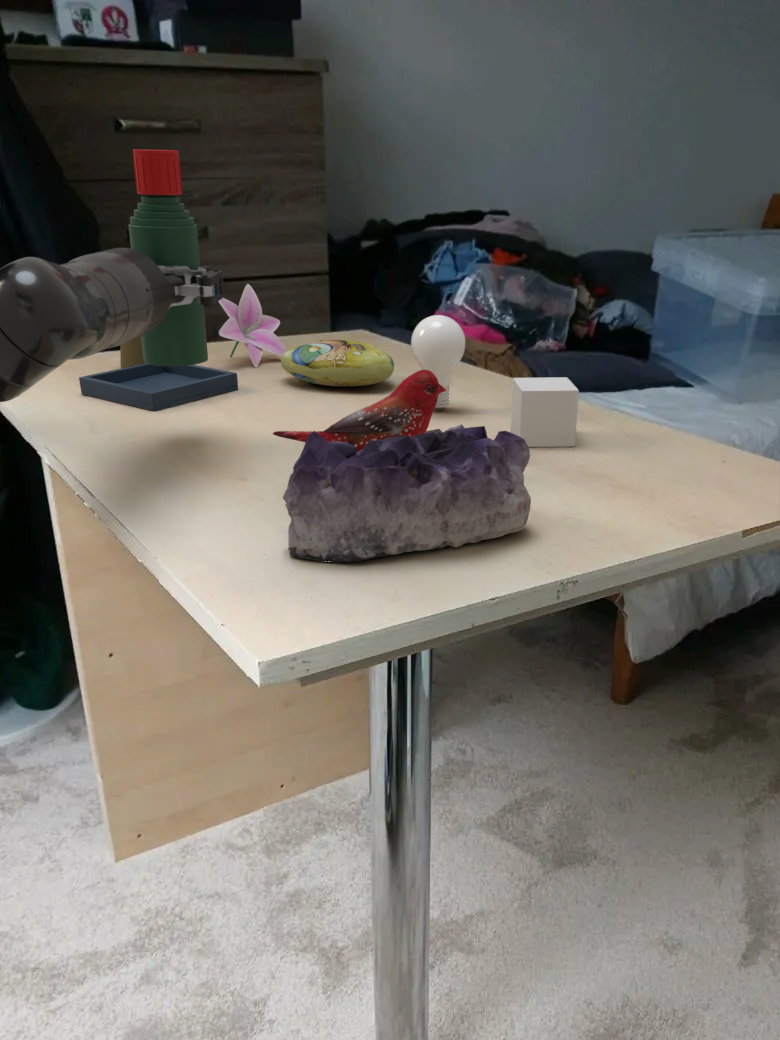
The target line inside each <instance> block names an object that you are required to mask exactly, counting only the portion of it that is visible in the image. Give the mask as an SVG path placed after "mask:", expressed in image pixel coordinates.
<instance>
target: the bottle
mask: <svg viewBox="0 0 780 1040" xmlns="http://www.w3.org/2000/svg"><path fill="white" fill-rule="evenodd" d="M140 199H141V202H137V203H136V204H137V209H134V210H133V215H132V216H130V217H129V222H130V223H128V233H129V243H130V249H134V250H137V251H139V252H141V253H143V254H145V255H146V256H148V257H149V258H150V259H151V260H153V261H154V262H155V263H156V265H161V266H175V265H179V266H187V267H189V268H190V269H197V268H200V267H201V258H200V257H201V255H200V245H199V244H200V243H199V231H198V225H197V224H196V222H195V217H193V216H190V210H189V209H186V205H185V203H182V202H181V201H180V200H181V199H180V195H141V196H140ZM171 275H174V276H176V275H175V273H173V274H171ZM191 284H194V276H192V277H191ZM141 341H142V350H143V359H144V362H146V363H148V364H152V365H158V366H187V365H200V364H202V363H203V364H204V363H205V362H207V361H208V360H209V352H208V341H207V328H206V316H205V306H204V305H200V303H198V297H196V298H193V301H192V303H190V304H185V305H178V306H171V307H170V309H169V310H168V312H167V314H166V316H165V318H164V320H163V321H162V322H161V323H160V325H159V326H158V327H156V328H155V329H154V330H152V331H150V332H148V333H146V334H144V335H142V336H141Z"/></svg>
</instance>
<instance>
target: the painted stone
mask: <svg viewBox="0 0 780 1040" xmlns="http://www.w3.org/2000/svg"><path fill="white" fill-rule="evenodd" d="M286 350H287V349H286ZM280 363H281V366H282V369H283V370H284V371H285V372H286V373H287V374H289V375H291V376H292V377H294V378H296V379H298V380H300V381H303V382H306V383H311V384H315V385H321V386H328V387H339V388H340V387H341V388H343V387H344V388H346V387H350V388H351V387H362V386H369V385H375V384H378V383H382V382H384V381H386V380H388V379H389V378H390V377H391V376H393V373H394V370H395V363H394V359H393V358H392V356H390V354H388V353H387V352H386V351H385V350H383V349H382V348H380V347H378V346H377V345H374V344H370V343H367V342H362V341H357V340H351V339H350V340H349V339H326V340H318V341H313V342H308V343H303V344H300V345H297V346H293V347H292V348H289V349H288V350H287V351H286V352H285V353H283V355H282V356H281V357H280Z"/></svg>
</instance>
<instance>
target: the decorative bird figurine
mask: <svg viewBox="0 0 780 1040" xmlns="http://www.w3.org/2000/svg"><path fill="white" fill-rule="evenodd" d="M444 391H446V389H445V388H444V387H443V386H441V385H440V384H439V383H438V379H437V377H436V376H435V375H434V374H433V373H432V372H431V371H429V370H422V369H420V370H418V371H416V372H413V373H412V374H410V375H408V376H407V377H405V378H404V379H403V380H402V381H401V382H400V383H399V384H398V386H396V388H395V389H394V390H393V391H392V392H391V393H390V394H389V395H387V396H385V397H384V398H382V399H380V400H379V401H377V402H375V403H372V404H370V405H368V406H365V407H363V408H362V407H361V408H360V409H357V410H356V411H354V412H352V413H350V414H348V415H346V416H345V417H343V418H341V419H339V420H338V421H336V422H335V423H333V424H331V425H330V426H329V427H327V428H326V429H324V430H320V431H319V430H317V431H316V430H315V431H316V432H317V433H318V434H319V435H321V436H322V437H323V438H324V439H325V440H326V441H328V442H334V441H340V442H347V443H349V444H351V445H354V446H355V447H356V452H358V451H361V450H363V448H364V447H365V446H366V444H367V443H368V442H369V441H370V440H374V441H376V442H377V441H378V440H379V439H381V440H383V439H386V438H389V437H396V436H399V435H402V436H409V437H412V436H415V435H419V434H424V433H425V432H426V431H428V428H429V425H430V423H431V419H432V416H433V414H434V411H435V410H434V409H435V407H436V404H437V399H438V395H439V394H440V393H441V392H444ZM312 432H313V431H311V430H310V431H304V430H302V431H300V430H299V431H298V430H276V431H273V432H272V435H273V436H276V437H279V438H284V439H287V440H293V441H298V442H302V443H306V439H307V438H308V436H309V435H310V434H311V433H312Z"/></svg>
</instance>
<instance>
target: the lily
mask: <svg viewBox="0 0 780 1040" xmlns="http://www.w3.org/2000/svg"><path fill="white" fill-rule="evenodd" d="M217 303H219V306H221V308H222V309H223V311H224V312H225V314H226V315H227V317H229V318H228V319H227V320H226V321H225V322H224V323H223V324H222V326H221V327H220V329H219V330H218V336H220V337H222V338H225V339H229V340H233V341H236V342H235V344H234V346H233V348H232V350H231V353H230V355H229V358H231V357H232V358H233V355H234V354H235V351H236V349H237V347H238V345H239V343H240V342H241V343H243V344H244V346H245V349H246V351H247V353H248V356H249V358H250V360H251V362H252V364H253V366H254V367H255V368H258V366H259V364H260V362H261V359H262V356H263V352H264V351H267V352H268V353H269V352H270V353H272V354H274V355H276V356H279V357H280V358H281V356H282V355H283V353H285V352H286V351H287V348H286V346H285V344H284V343H283V342H282V340H281V339H280V338H279V336H278V335H276V334H275V333H274V332H275V331H276V330H277V329H278V328H279V326H280V325H281V321H280V320H279V319H278V318H276V317H273V316H271V315H267V314H263V308H262V305H261V302H260V300H259V297H258V295H257V293H256V292H255V290H254V289H253V287H252V286H251V285H250V284H249V283H246V285H245V287H244V289H243V292H242V294H241V297H240V300H239V303H238V305H237V304H236V303H234V302H233V301H231V300H229V299H227V298H225V297H224V298H222V299H221V300H219V301H218V302H217ZM263 350H264V351H263Z"/></svg>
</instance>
